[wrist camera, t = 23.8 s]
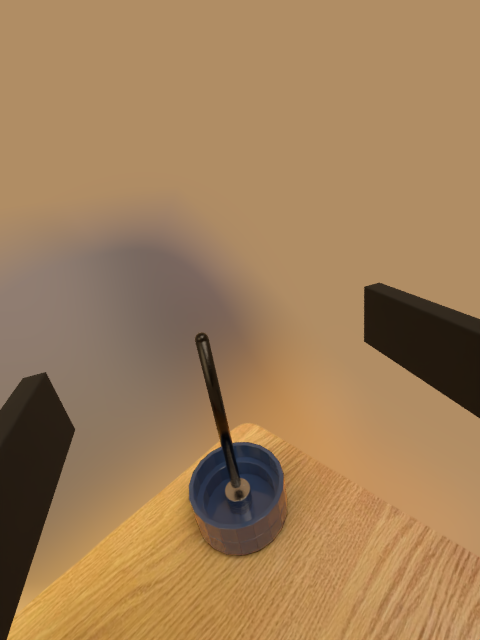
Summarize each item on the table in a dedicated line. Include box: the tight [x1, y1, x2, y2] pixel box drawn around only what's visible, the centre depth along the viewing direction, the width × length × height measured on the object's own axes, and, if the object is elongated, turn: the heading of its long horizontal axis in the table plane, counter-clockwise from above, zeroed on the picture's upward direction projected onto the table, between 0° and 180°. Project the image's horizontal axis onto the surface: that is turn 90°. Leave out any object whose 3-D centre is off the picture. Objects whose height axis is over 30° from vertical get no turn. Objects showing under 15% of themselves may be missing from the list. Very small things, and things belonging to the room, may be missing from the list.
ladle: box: [195, 333, 253, 515], centre depth 32 cm, size 3×3×23 cm
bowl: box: [189, 442, 287, 555], centre depth 35 cm, size 11×11×5 cm
